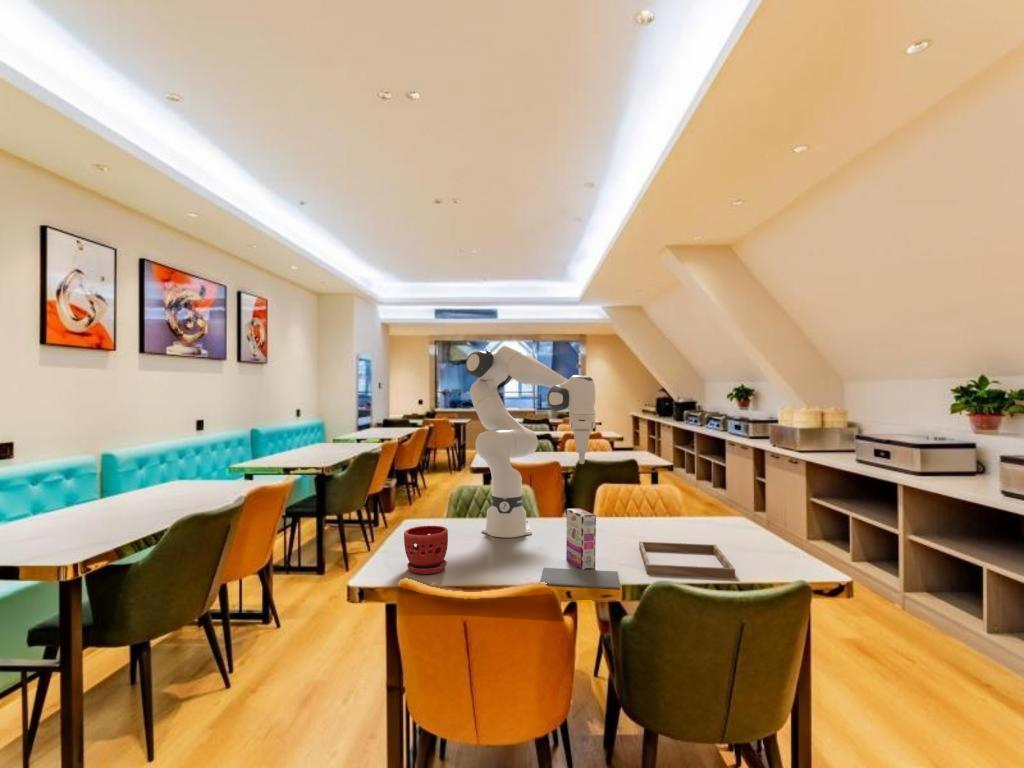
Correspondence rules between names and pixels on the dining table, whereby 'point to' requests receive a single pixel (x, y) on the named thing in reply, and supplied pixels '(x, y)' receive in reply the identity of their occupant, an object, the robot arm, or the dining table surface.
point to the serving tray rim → (686, 570)
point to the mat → (581, 578)
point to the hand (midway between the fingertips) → (581, 463)
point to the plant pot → (426, 548)
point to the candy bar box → (581, 538)
